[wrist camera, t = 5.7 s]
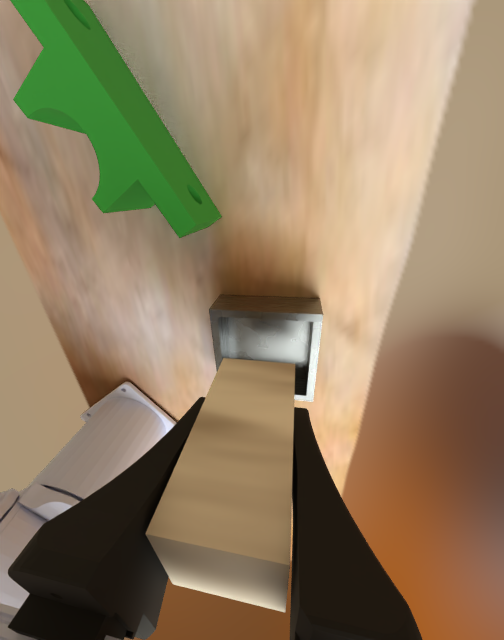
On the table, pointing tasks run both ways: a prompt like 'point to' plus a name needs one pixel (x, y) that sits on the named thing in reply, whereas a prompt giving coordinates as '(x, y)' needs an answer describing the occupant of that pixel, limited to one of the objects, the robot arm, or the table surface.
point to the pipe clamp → (108, 116)
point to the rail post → (233, 489)
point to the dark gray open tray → (270, 334)
